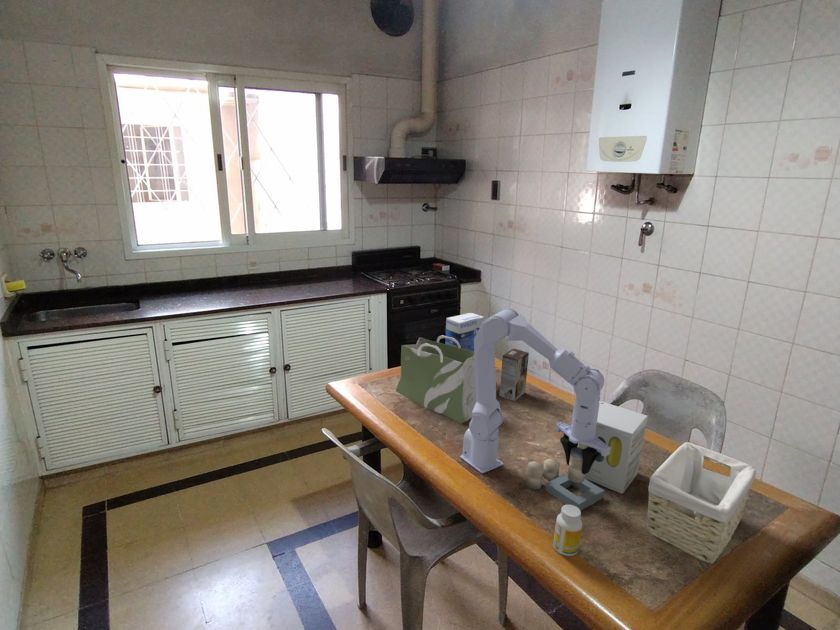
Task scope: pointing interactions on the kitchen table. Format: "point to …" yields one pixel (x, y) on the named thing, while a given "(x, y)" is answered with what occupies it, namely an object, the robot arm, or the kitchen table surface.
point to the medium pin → (534, 475)
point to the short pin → (551, 469)
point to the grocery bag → (439, 377)
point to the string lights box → (463, 330)
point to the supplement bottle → (568, 530)
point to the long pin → (576, 466)
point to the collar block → (581, 501)
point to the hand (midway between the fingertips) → (577, 468)
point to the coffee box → (513, 374)
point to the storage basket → (697, 501)
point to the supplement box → (618, 446)
